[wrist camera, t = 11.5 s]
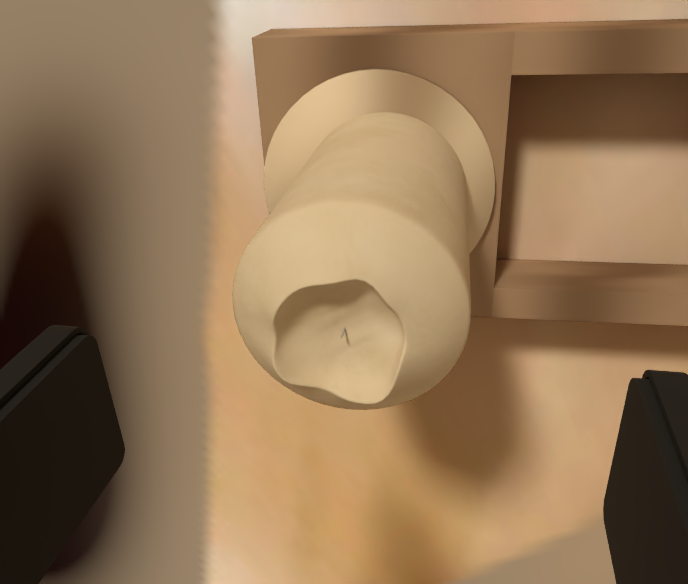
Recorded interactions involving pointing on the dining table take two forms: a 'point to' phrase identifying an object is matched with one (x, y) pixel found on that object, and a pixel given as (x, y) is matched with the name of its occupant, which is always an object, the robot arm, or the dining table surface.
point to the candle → (362, 268)
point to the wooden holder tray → (470, 135)
